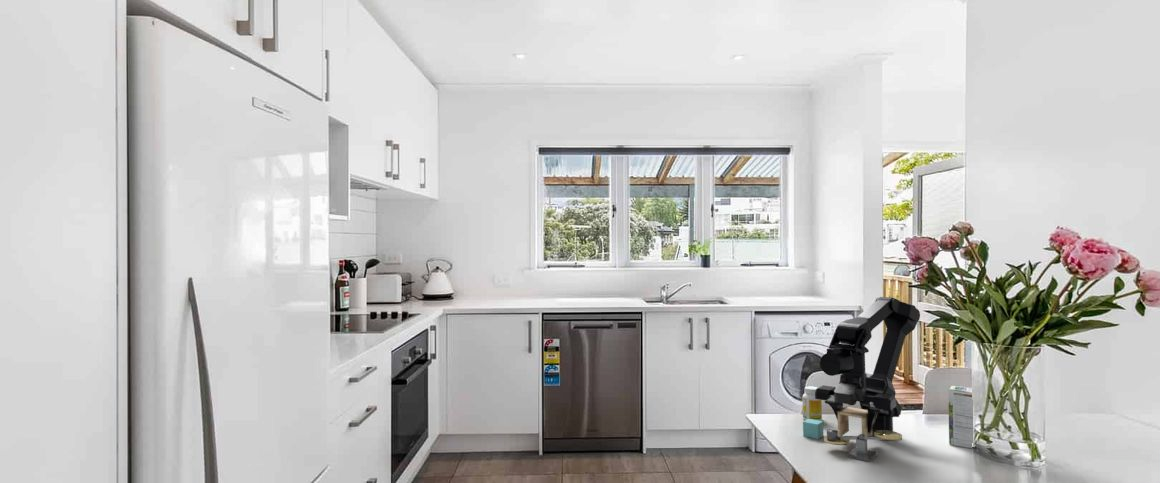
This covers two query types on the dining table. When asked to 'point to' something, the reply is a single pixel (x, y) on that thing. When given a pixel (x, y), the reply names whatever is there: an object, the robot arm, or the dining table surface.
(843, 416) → the cover
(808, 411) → the supplement bottle
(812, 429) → the block
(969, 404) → the syrup box
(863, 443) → the balance
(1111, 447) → the dining table surface
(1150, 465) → the dining table surface
